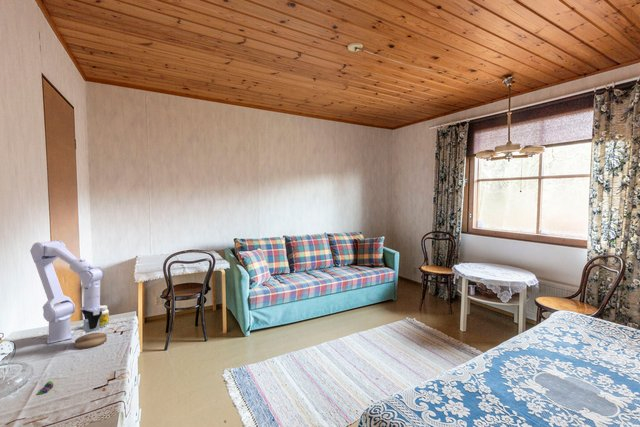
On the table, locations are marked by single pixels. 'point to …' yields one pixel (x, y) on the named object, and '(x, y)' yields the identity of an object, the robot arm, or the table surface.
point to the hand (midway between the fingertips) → (91, 326)
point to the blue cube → (86, 326)
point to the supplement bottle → (104, 316)
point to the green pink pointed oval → (45, 388)
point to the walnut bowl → (90, 340)
